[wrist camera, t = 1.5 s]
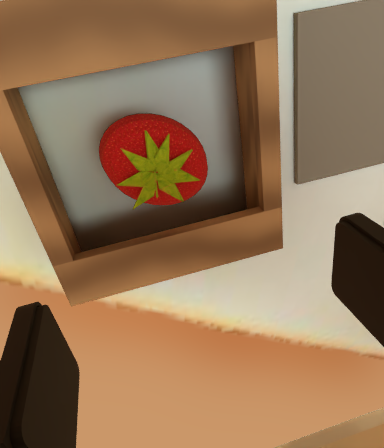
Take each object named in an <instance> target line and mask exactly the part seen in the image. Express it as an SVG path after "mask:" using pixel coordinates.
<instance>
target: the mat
mask: <svg viewBox="0 0 384 448" xmlns="http://www.w3.org/2000/svg"><path fill="white" fill-rule="evenodd" d="M294 147H295V183H296V184H302V183H306V182H310V181H314V180H318V179H322V178H326V177H330V176H334V175H338V174H342V173H345V172H349V171H353V170H357V169H361V168H365V167H369V166H373V165H377V164H381V163H384V0H364V1H358V2H353V3H347V4H342V5H337V6H331V7H326V8H320V9H315V10H310V11H304V12H299V13H294Z"/></svg>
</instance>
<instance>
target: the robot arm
mask: <svg viewBox="0 0 384 448" xmlns="http://www.w3.org/2000/svg"><path fill="white" fill-rule="evenodd" d="M332 290H333V292H334V294H335V295H336V296H337V297H338V298H339V299H340V301H341V302H342V303H343V304H344V305H345V306H346V307H347V308H348V309H349V310H350V311H351V312H352V313H353V314H354V316H355V317H356V318H357V319H358V320H359V321H360V322H361V323H362V324H363V325H364V326H365V327H366V328H367V330H368V331H369V332H370V333H371V334H372V335H373V336H374V337H375V338H376V339H377V340H378V341H379V342H380V343H381V345H382V346H383V347H384V228H383V227H381V226H380V225H378V224H377V223H375V222H374V221H372V220H371V219H369V218H368V217H366V216H365V215H363V214H361V213H355V214H351V215H348V216H344V217H342V218H341V219H340V221H339V223H337V224H336V229H335V242H334V256H333V270H332ZM78 392H79V367H78V364H77V362H76V359H75V358H74V356H73V354H72V352H71V350H70V348H69V346H68V344H67V342H66V340H65V338H64V336H63V334H62V332H61V330H60V328H59V326H58V324H57V322H56V320H55V318H54V316H53V314H52V312H51V310H50V308H49V307H48V306H47V305H43V306H42V305H41V304H40V303H39V302H35V303H31V304H28V305H24V306H21V307H18V308H17V309H16V311H15V314H14V318H13V321H12V324H11V328H10V331H9V335H8V338H7V341H6V345H5V348H4V351H3V355H2V358H1V360H0V448H76V433H77V413H78ZM275 448H384V408H382V409H379V410H376V411H373V412H371V413H368V414H365V415H362V416H360V417H357V418H354V419H351V420H349V421H346V422H343V423H340V424H338V425H335V426H332V427H329V428H327V429H324V430H321V431H319V432H316V433H313V434H310V435H308V436H305V437H302V438H300V439H297V440H294V441H291V442H289V443H286V444H283V445H280V446H278V447H275Z"/></svg>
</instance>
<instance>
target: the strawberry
mask: <svg viewBox="0 0 384 448" xmlns="http://www.w3.org/2000/svg"><path fill="white" fill-rule="evenodd" d="M99 156H100V161H101V164H102V167H103V169H104V170H105V172H106V174H107V176H108V177H109V179H110V180H111V181H112V182H113V184H114V185H115V186H116V187H117V188H118V189H119V190H121V191H122V192H123V193H124V194H126V195H128V196H129V197H131V198H133V199H135V200H137V201H136V203H135V205H134V207H133V209H134V208H136V207H138V206H139V205H141V204H142V203H148V204H152V205H172V204H176V203H180V202H184V201H185V200H188V199H189V198H191V197H192V196H194V195H195V194H196V193H197V192H198V191H199V190H200V189H201V188H202V186H203V184H204V183H205V180H206V177H207V171H208V166H207V159H206V154H205V151H204V149H203V146H202V145H201V143H200V141H199V140H198V138H197V137H196V136H195V135H194V134H193V133H192V132H191V131H190V130H189V129H188V128H186V127H185V126H184V125H182V124H181V123H179V122H177V121H175V120H173V119H171V118H168V117H165V116H162V115H156V114H135V115H129V116H126V117H124V118H122V119H119V120H118V121H116V122H115V123H113V124H112V125H111V126H110V127H109V128H108V129H107V130H106V131H105V133H104V135H103V137H102V139H101V141H100V146H99ZM133 209H132V210H133Z"/></svg>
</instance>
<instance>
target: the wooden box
mask: <svg viewBox="0 0 384 448" xmlns="http://www.w3.org/2000/svg"><path fill="white" fill-rule="evenodd" d="M229 46H233V50H234V61H235V73H236V85H237V97H238V109H239V121H240V132H241V144H242V156H243V168H244V180H245V191H246V203H247V210H243V211H239V212H236V213H232V214H228V215H224V216H220V217H216V218H212V219H208V220H204V221H200V222H197V223H193V224H189V225H185V226H181V227H177V228H173V229H169V230H165V231H162V232H158V233H154V234H150V235H146V236H142V237H138V238H134V239H130V240H126V241H123V242H119V243H115V244H111V245H107V246H103V247H99V248H95V249H91V250H87V251H84V252H82V251H81V248H80V246H79V243H78V241H77V238H76V236H75V233H74V230H73V228H72V225H71V223H70V220H69V218H68V215H67V213H66V210H65V208H64V205H63V202H62V200H61V197H60V195H59V192H58V190H57V187H56V185H55V182H54V180H53V177H52V174H51V172H50V169H49V167H48V164H47V162H46V159H45V157H44V154H43V152H42V149H41V146H40V144H39V141H38V139H37V136H36V134H35V131H34V129H33V126H32V123H31V121H30V118H29V116H28V113H27V111H26V108H25V106H24V103H23V101H22V98H21V95H20V93H19V90H18V88H17V87H22V86H27V85H32V84H37V83H43V82H48V81H53V80H58V79H63V78H68V77H74V76H79V75H84V74H89V73H94V72H99V71H105V70H110V69H115V68H120V67H125V66H131V65H136V64H141V63H146V62H151V61H156V60H162V59H167V58H172V57H177V56H182V55H187V54H193V53H198V52H203V51H208V50H213V49H218V48H224V47H229ZM0 152H1V154H2V156H3V158H4V160H5V163H6V165H7V167H8V169H9V171H10V174H11V176H12V178H13V180H14V182H15V185H16V187H17V189H18V191H19V193H20V195H21V198H22V200H23V202H24V204H25V206H26V209H27V211H28V213H29V215H30V217H31V220H32V222H33V224H34V226H35V228H36V230H37V233H38V235H39V237H40V239H41V241H42V244H43V246H44V248H45V250H46V252H47V255H48V257H49V259H50V261H51V263H52V265H53V268H54V270H55V272H56V274H57V276H58V279H59V281H60V283H61V285H62V287H63V289H64V292H65V294H66V296H67V298H68V300H69V303H70V305H71V306H74V305H78V304H82V303H85V302H89V301H93V300H96V299H100V298H104V297H107V296H111V295H114V294H118V293H122V292H125V291H129V290H133V289H136V288H140V287H144V286H147V285H151V284H154V283H158V282H162V281H165V280H169V279H173V278H176V277H180V276H184V275H187V274H191V273H194V272H198V271H202V270H205V269H209V268H213V267H216V266H220V265H223V264H227V263H231V262H234V261H238V260H242V259H245V258H249V257H253V256H256V255H260V254H263V253H267V252H271V251H274V250H278V249H282V248H283V236H282V197H281V158H280V120H279V81H278V42H277V3H276V0H3V1H0Z"/></svg>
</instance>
